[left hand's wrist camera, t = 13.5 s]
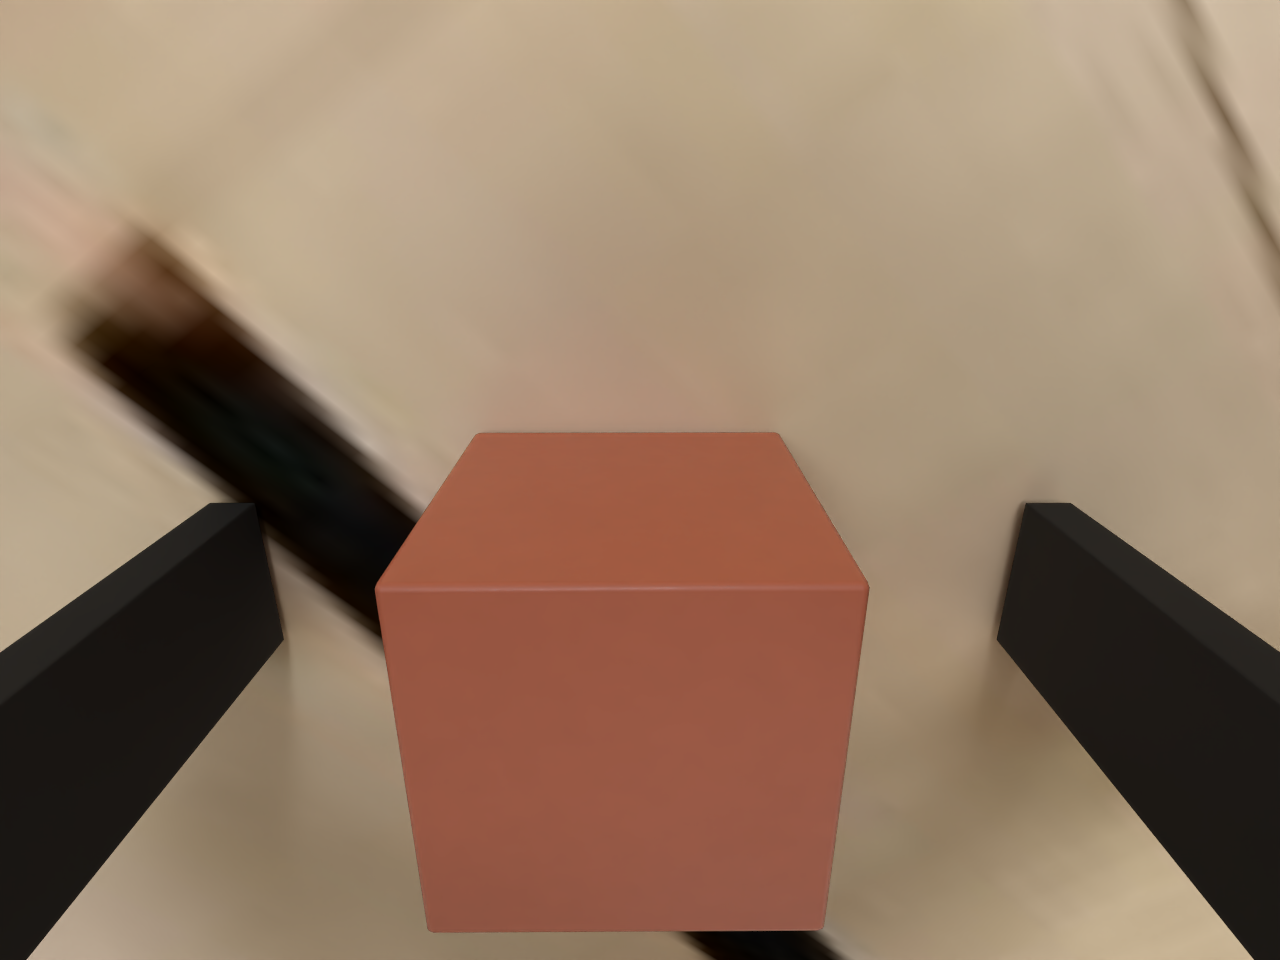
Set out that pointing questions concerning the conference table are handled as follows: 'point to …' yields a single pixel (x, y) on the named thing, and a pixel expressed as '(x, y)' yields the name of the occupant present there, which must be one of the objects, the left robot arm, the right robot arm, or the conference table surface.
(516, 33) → the conference table surface
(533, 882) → the terracotta block
